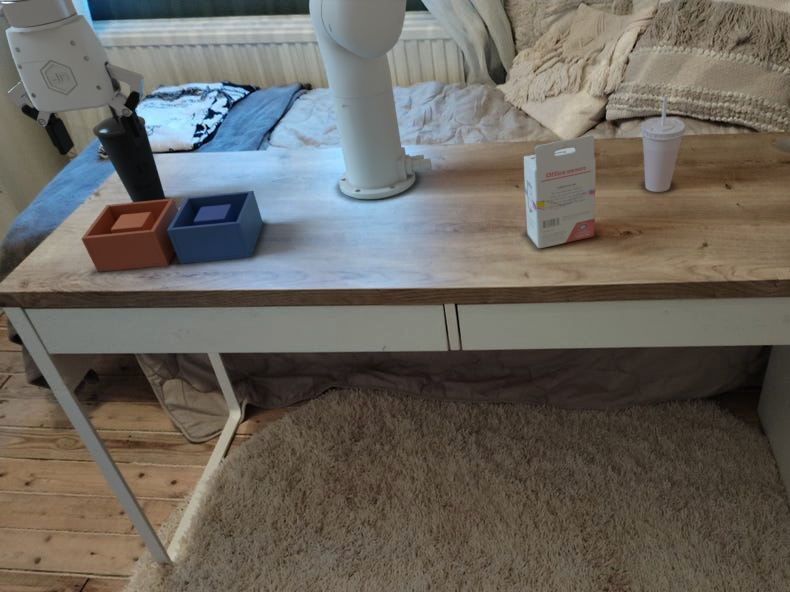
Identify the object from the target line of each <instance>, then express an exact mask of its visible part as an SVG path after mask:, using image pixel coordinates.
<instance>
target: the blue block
mask: <svg viewBox="0 0 790 592" xmlns="http://www.w3.org/2000/svg"><path fill="white" fill-rule="evenodd" d="M227 222H237V221H236V218H235V215H234V211H233V208H232V205H231V204H229V205H218V206H208V207H201V208H200V210H199V212H198V214H197V216H196V218H195V220H194V224H195V226H197V225H207V224H217V223H227Z"/></svg>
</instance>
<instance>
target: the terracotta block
mask: <svg viewBox="0 0 790 592" xmlns="http://www.w3.org/2000/svg"><path fill="white" fill-rule="evenodd" d="M154 224H155V220H154V218H153V215H152V213H151V212H145V213H135V214H125V215H121V216H120V217H119V219H118V220H117V222H116V223H115V224H114V226H113V227H112V229H111V231H112V233H113V234H114V233H125V232H135V231H145V230H151V229H152V228H153V226H154Z"/></svg>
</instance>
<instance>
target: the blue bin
mask: <svg viewBox="0 0 790 592" xmlns="http://www.w3.org/2000/svg"><path fill="white" fill-rule="evenodd" d="M229 204H231V205H232V208H233V211H234V215H235V218H236V221H237V222H227V223H217V224H207V225H197V226H195V224H194V220H195V218H196V216H197V214H198V212H199V210H200V208H201V207H208V206H218V205H229ZM263 225H264V221H263V218H262V215H261V211H260V208H259V205H258V202H257V198H256V195H255V192H254V190H247V191H246V190H245V191H236V192H226V193H215V194H208V195H207V194H206V195H196V196H186V197H185V198H184V200H183V202H182V204H181V205H180V207H179V208H178V212H177V214H176V216H175V217H174V219H173V221H172V223H171V224H170V226H169V228H168V230H167V231H168V234H169V236H170V239H171V241H172V244H173V246H174V249H175V253H176V256H177V259H178V261H179V265H180V264H181V265H183V264H193V263H202V262H203V263H205V262H215V261H224V260H235V259H245V258H251V257H252V255H253V252H254V249H255V246H256V244H257V241H258V238H259V236H260V233H261V230H262V227H263Z"/></svg>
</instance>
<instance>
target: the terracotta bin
mask: <svg viewBox="0 0 790 592" xmlns="http://www.w3.org/2000/svg"><path fill="white" fill-rule="evenodd" d="M178 210H179V208H178V206H177V203H176V199H175V198H166V199H163V200H153V201H142V202H133V201H131V202H125V203H124V202H121V203H111V204H106V205H105V207H104V208H103V209H102V210H101V212H100V213H99V214H98V216H97V217H96V219H94V221H93V222H92V224H91V225H90V226H89V227H88V229H87V230H86V232H85V233H84V234H83V235H82V237H81V241H82V244H83V245H84V247H85V249H86V251H87V253H88V255H89V257H90V259H91V261H92V264H93V265H94V268H95V269H96V272H97V273H102V272H111V271H121V270H130V269H142V268H153V267H162V266H169V264H170V262H171V260H172V259H173V257H174V255H175V253H176V251H175V249H174V246H173V244H172V241H171V239H170V236H169V234H168V231H167V230H168V228H169V226H170V224H171V223H172V221H173V219H174V217H175V216H176V214H177V212H178ZM145 212H151V213H152V215H153V218H154V220H155V224H154V226H153V228H152V229H151V230H145V231H135V232H125V233H114V234H113V233H112V231H111V229H112V227H113V226H114V224H115V223H116V222H117V220H118V219H119V217H120V216H121V215H125V214H135V213H145Z"/></svg>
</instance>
